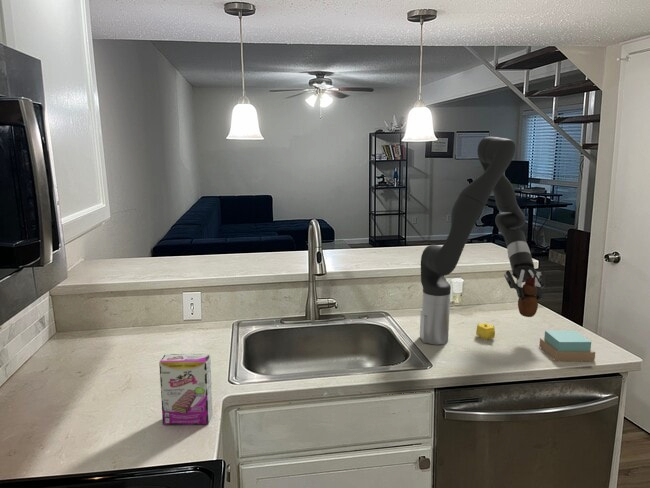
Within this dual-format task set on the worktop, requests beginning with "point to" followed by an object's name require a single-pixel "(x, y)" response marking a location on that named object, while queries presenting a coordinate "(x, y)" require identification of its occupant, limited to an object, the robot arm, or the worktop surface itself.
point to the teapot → (485, 331)
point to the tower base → (566, 353)
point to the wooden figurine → (528, 299)
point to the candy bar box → (186, 389)
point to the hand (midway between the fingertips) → (530, 298)
